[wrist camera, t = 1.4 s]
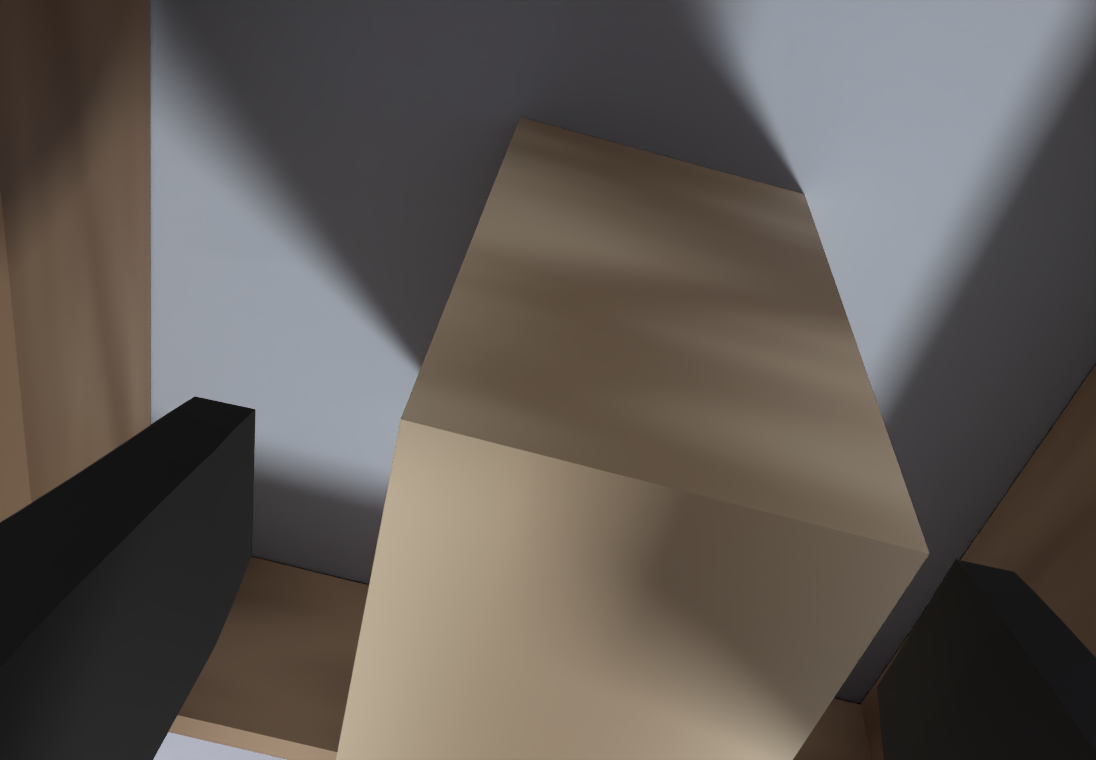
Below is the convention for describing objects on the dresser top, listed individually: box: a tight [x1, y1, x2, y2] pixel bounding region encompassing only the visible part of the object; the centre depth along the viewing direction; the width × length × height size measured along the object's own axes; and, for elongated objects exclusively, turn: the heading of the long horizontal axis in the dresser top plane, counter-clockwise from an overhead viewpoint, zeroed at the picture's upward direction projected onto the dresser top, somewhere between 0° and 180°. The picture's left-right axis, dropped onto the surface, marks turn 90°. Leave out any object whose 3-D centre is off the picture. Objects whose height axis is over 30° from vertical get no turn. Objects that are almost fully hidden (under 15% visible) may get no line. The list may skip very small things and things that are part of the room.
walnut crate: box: [0, 0, 1096, 760], centre depth 12 cm, size 15×15×4 cm
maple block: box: [336, 117, 930, 760], centre depth 11 cm, size 4×5×7 cm
